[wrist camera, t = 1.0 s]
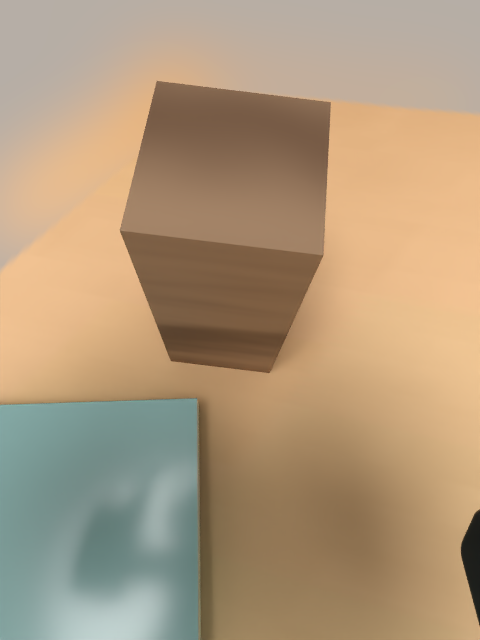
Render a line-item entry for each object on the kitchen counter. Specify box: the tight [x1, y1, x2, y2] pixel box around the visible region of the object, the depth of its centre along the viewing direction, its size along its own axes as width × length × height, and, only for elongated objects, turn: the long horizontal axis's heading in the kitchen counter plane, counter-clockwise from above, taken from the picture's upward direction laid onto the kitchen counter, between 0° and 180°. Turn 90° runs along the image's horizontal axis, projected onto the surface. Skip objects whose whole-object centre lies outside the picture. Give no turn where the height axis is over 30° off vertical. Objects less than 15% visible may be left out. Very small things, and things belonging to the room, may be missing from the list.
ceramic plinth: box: [0, 398, 201, 640], centre depth 18 cm, size 10×10×2 cm
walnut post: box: [120, 81, 331, 373], centre depth 17 cm, size 5×5×12 cm
